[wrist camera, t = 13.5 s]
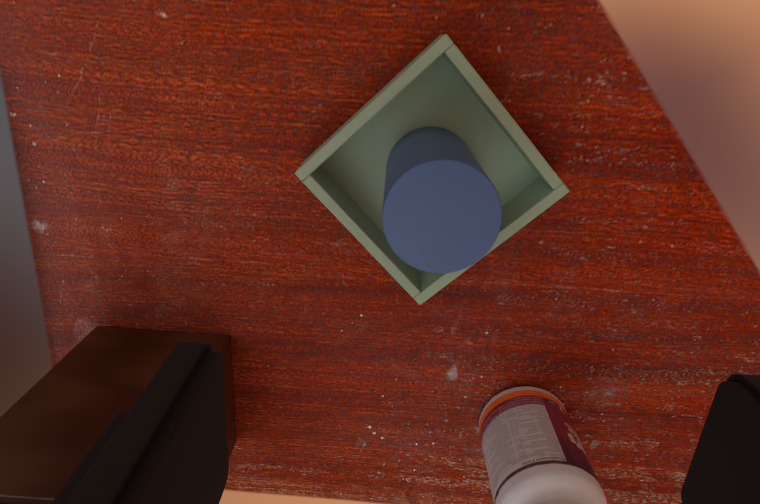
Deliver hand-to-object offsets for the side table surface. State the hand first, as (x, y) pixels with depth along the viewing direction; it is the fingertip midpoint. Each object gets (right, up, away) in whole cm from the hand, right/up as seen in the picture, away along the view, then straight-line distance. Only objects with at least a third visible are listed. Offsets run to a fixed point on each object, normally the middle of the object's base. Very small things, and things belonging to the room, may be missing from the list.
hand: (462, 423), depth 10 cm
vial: (+1, +8, +20) cm, 22 cm away
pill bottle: (+8, -8, +27) cm, 30 cm away
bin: (+1, +8, +21) cm, 22 cm away
